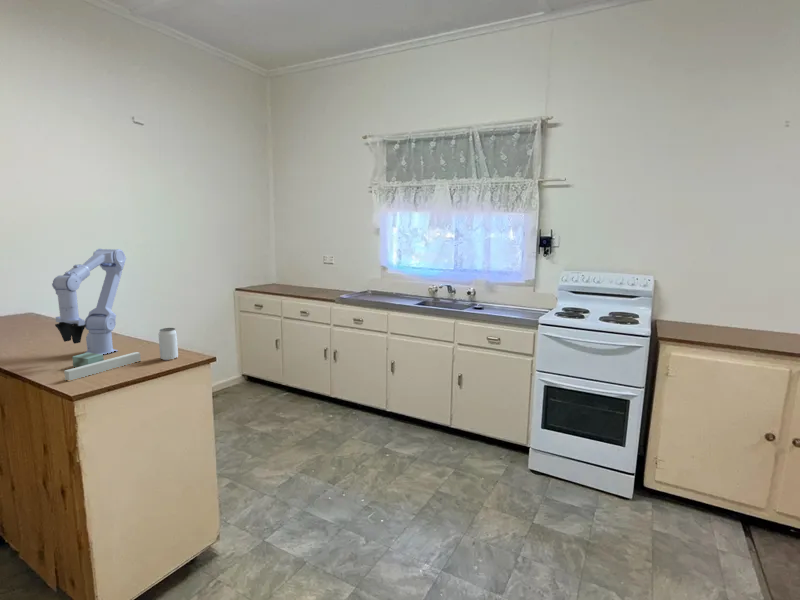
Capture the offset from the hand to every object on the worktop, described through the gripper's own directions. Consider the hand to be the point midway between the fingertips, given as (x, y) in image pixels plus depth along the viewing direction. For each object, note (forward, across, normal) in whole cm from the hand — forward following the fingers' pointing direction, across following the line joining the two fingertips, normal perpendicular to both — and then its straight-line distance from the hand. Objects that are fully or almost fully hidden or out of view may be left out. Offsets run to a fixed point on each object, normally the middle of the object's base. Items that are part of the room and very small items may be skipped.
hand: (72, 341), depth 171 cm
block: (+9, +9, 0) cm, 12 cm away
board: (+8, +19, 0) cm, 21 cm away
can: (+9, +26, +21) cm, 35 cm away
